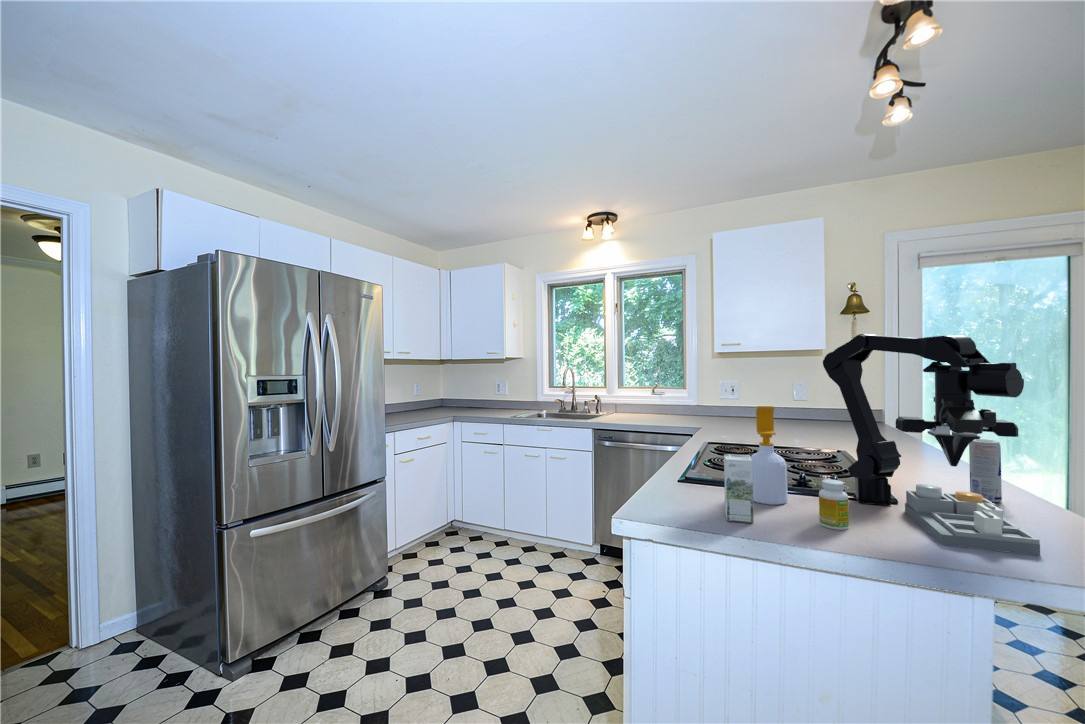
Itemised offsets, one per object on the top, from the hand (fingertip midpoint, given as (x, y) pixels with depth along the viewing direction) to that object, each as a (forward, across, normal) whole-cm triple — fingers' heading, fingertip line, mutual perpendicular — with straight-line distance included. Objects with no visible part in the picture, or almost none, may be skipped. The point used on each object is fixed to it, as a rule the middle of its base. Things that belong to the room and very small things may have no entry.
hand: (953, 466), depth 96 cm
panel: (+13, +1, -3) cm, 13 cm away
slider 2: (+10, +2, -10) cm, 15 cm away
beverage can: (+13, +14, +24) cm, 30 cm away
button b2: (+10, +4, +4) cm, 11 cm away
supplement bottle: (+13, -23, -10) cm, 28 cm away
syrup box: (+13, -42, -12) cm, 46 cm away
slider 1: (+10, +4, -4) cm, 12 cm away
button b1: (+9, -3, +4) cm, 10 cm away
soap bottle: (+13, -36, +5) cm, 38 cm away
